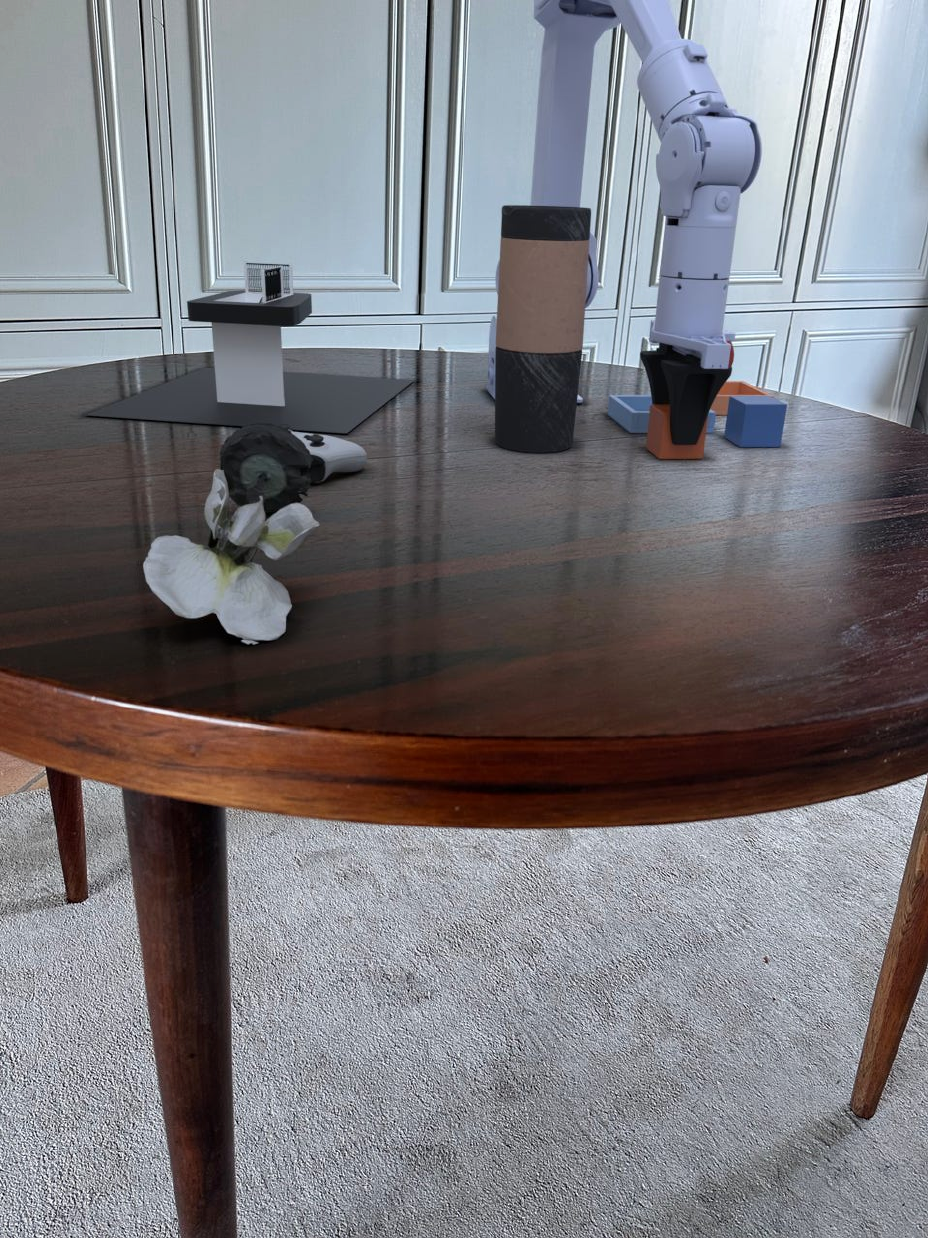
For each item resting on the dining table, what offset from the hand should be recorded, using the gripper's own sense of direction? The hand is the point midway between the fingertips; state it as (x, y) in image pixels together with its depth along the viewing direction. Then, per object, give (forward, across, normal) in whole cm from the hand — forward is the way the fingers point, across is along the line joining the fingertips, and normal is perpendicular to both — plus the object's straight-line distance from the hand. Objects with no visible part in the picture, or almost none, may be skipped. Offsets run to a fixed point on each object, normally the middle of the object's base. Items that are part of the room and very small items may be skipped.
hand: (675, 437), depth 88 cm
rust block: (+1, 0, 0) cm, 1 cm away
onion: (+2, +30, -14) cm, 33 cm away
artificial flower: (+2, -27, +35) cm, 44 cm away
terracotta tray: (+1, +20, -12) cm, 23 cm away
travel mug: (+2, +4, +12) cm, 13 cm away
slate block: (+1, +4, -9) cm, 10 cm away
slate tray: (+1, +12, -2) cm, 12 cm away
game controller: (+2, -5, +33) cm, 33 cm away
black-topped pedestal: (+2, +25, +37) cm, 45 cm away
